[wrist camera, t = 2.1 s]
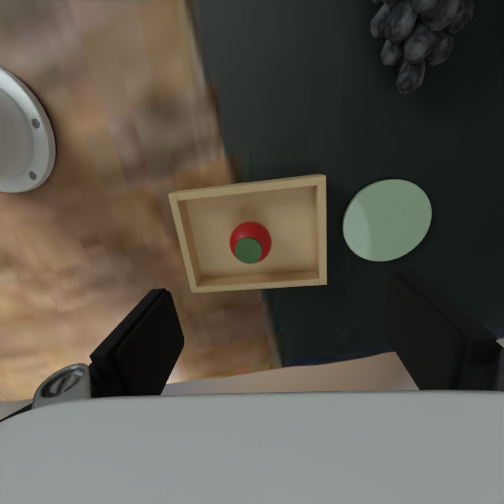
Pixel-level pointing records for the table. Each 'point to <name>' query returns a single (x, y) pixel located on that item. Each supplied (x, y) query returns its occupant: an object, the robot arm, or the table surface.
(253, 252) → the strawberry
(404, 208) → the coaster
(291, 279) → the tray
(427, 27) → the fruit
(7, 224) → the table surface
